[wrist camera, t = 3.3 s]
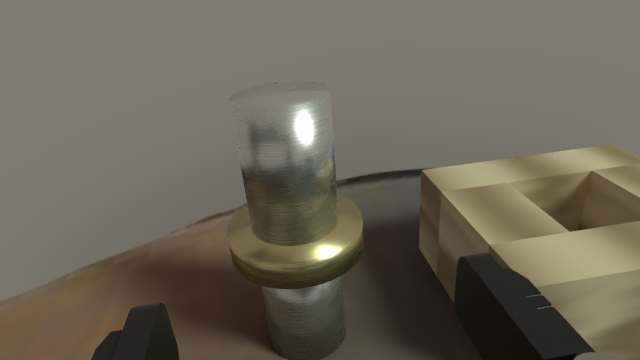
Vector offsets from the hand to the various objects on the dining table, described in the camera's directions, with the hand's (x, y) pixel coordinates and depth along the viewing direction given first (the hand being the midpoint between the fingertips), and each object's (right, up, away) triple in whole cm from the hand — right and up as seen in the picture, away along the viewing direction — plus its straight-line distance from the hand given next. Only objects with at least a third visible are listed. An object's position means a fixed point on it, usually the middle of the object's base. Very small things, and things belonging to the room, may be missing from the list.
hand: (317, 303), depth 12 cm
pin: (-1, -5, +13) cm, 14 cm away
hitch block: (+15, -3, +15) cm, 21 cm away
